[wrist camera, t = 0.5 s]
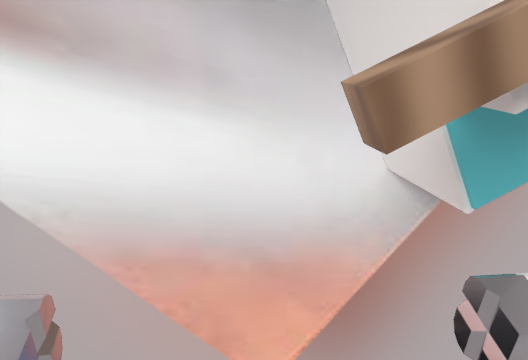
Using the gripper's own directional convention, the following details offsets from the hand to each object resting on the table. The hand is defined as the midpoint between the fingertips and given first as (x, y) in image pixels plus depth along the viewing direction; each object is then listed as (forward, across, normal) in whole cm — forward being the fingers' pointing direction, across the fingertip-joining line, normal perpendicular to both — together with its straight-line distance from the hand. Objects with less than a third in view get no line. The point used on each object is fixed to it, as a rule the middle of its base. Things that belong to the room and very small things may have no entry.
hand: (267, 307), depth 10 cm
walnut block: (+22, -19, -1) cm, 29 cm away
